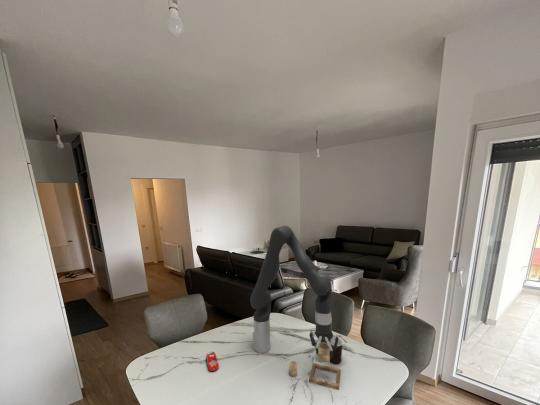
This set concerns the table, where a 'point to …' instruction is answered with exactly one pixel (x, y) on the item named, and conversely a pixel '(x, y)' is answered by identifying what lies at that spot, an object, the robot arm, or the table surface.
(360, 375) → the table surface
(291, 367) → the cork cylinder
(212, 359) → the race car
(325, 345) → the oak block
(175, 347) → the table surface
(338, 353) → the coffee mug
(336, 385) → the walnut tray
